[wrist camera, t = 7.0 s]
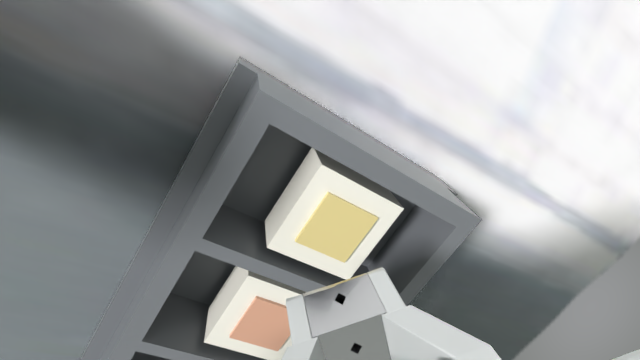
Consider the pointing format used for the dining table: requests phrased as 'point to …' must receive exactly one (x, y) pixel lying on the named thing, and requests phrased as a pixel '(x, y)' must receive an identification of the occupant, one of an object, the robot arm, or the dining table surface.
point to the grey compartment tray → (262, 220)
